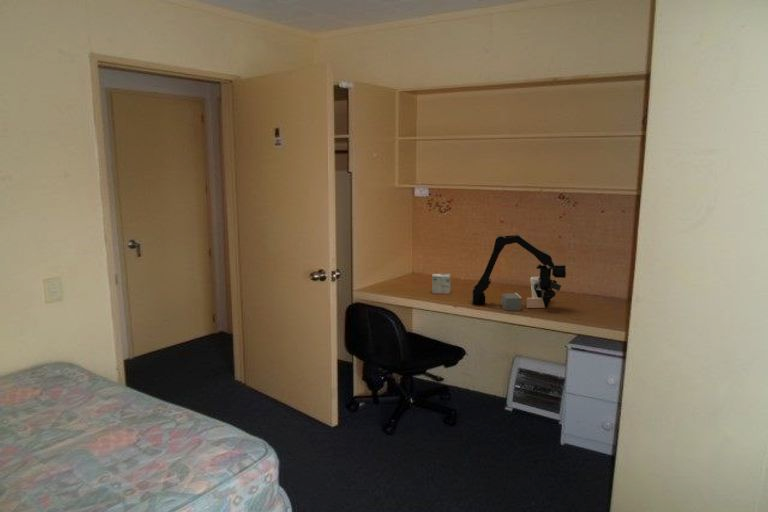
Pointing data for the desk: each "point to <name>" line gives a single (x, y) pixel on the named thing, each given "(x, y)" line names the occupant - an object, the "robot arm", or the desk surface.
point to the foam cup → (533, 281)
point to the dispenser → (511, 302)
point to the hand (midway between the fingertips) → (543, 305)
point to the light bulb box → (441, 283)
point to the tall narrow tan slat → (535, 303)
